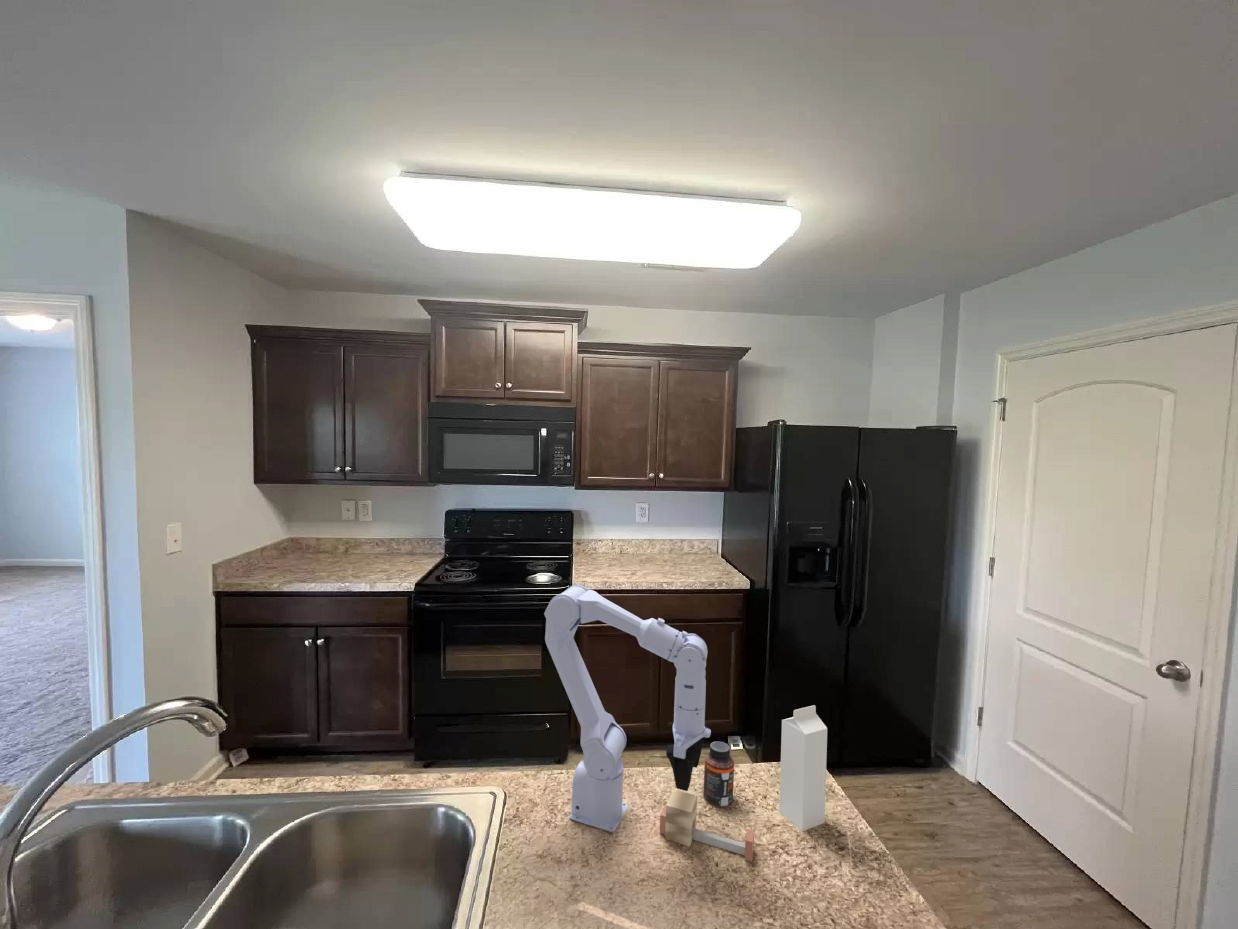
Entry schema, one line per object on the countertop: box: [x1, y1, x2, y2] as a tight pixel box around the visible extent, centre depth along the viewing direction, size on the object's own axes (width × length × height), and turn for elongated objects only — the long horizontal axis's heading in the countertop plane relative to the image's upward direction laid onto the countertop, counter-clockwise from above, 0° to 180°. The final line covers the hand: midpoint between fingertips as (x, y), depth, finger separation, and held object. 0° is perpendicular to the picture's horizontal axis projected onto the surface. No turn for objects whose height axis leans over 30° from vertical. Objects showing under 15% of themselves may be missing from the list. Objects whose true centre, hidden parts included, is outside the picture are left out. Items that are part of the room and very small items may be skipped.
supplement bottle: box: [703, 740, 735, 809], centre depth 101 cm, size 6×6×11 cm
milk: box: [778, 704, 828, 832], centre depth 96 cm, size 6×6×22 cm
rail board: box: [659, 804, 755, 863], centre depth 88 cm, size 17×9×4 cm, turn 69°
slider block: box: [664, 788, 698, 847], centre depth 90 cm, size 5×5×6 cm
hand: (687, 776), depth 92 cm, fingers open, 7 cm apart
